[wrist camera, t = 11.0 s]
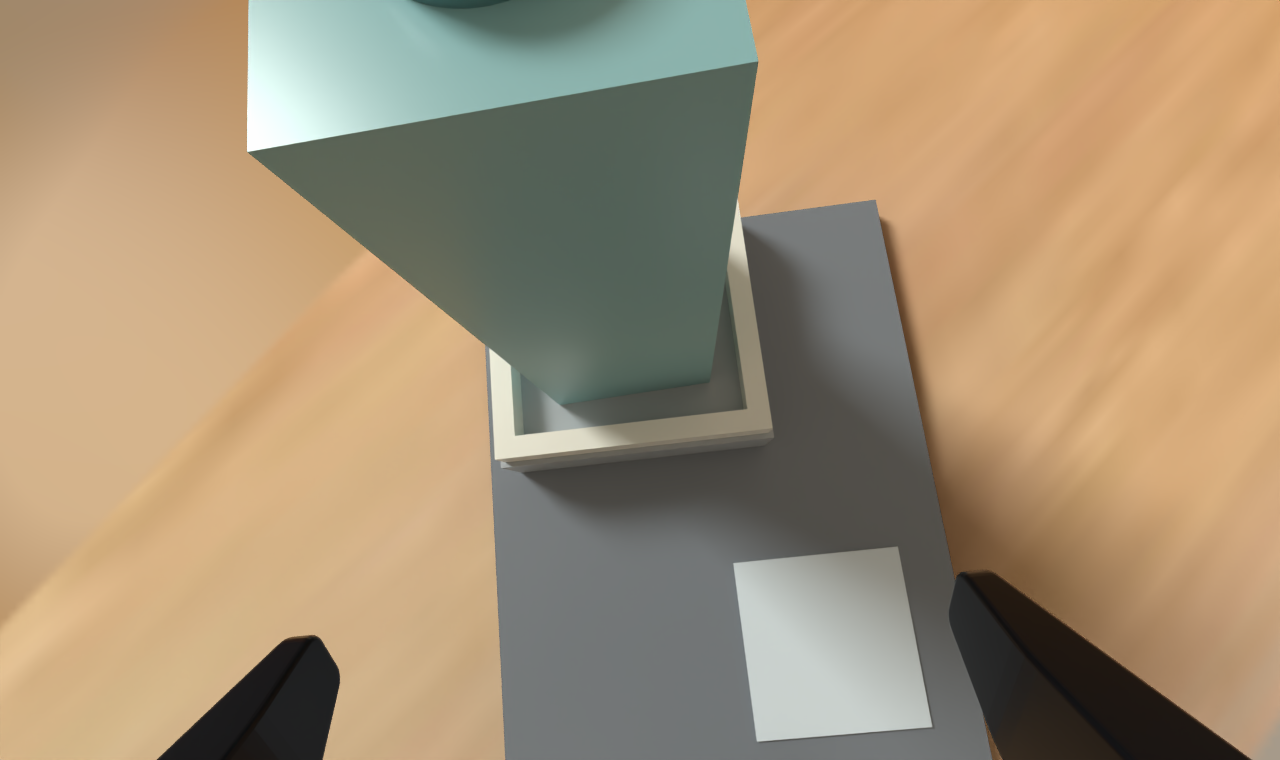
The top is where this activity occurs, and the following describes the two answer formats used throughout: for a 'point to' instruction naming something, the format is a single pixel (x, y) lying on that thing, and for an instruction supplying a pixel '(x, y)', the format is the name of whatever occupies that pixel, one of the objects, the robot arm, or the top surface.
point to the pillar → (525, 166)
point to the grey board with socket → (737, 534)
